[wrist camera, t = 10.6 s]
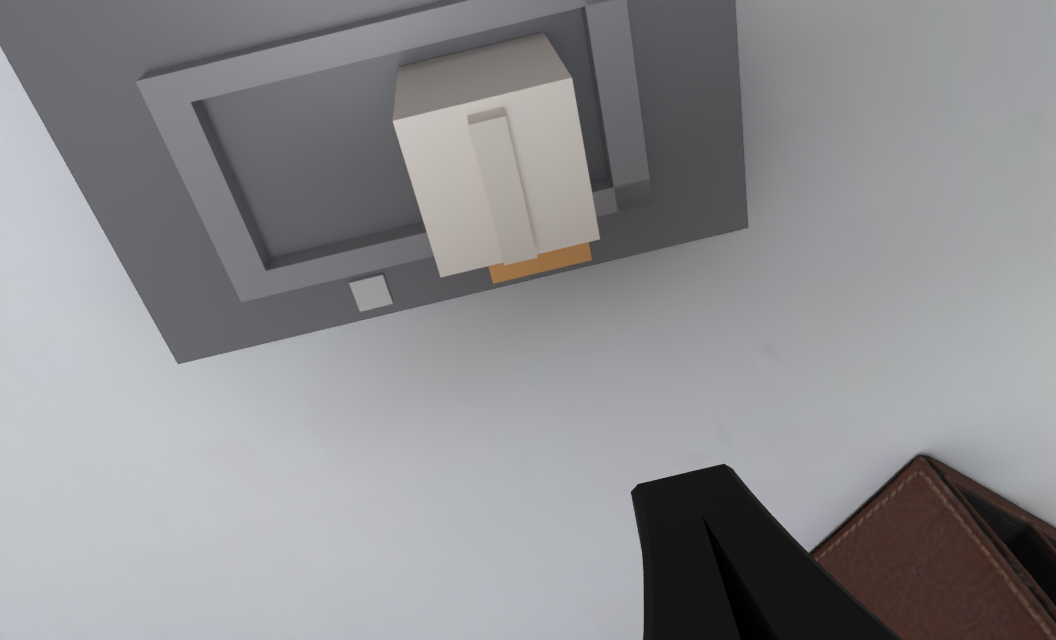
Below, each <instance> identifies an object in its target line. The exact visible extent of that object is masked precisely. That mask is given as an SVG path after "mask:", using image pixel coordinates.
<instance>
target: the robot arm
mask: <svg viewBox="0 0 1056 640" xmlns="http://www.w3.org/2000/svg"><path fill="white" fill-rule="evenodd" d="M631 495H632V501H633V506H634V511H635V517H636V522H637V527H638V533H639V538H640V543H641V549H642V557H643V572H644V635H643V640H903V639H902V638H901V637H899V636H898V635H897V634H896V633H895V632H894V631H892V630H891V629H890V628H889V627H888V626H887V625H886V624H884V623H883V622H882V621H881V620H880V619H879V618H878V617H876V616H875V615H874V614H873V613H872V612H871V611H869V610H868V609H867V608H866V607H865V606H864V605H863V604H862V603H861V602H860V601H858V600H857V599H856V598H855V597H854V596H853V595H852V594H851V593H850V592H849V591H847V590H846V589H845V588H844V587H843V586H842V585H841V584H840V583H839V582H838V581H837V580H836V579H835V578H834V577H833V576H832V575H831V574H830V573H829V572H828V571H827V570H826V569H824V568H823V567H822V566H821V565H820V564H819V563H818V562H817V561H816V560H815V559H814V558H813V557H812V556H811V555H810V554H809V553H808V552H807V551H806V550H805V549H804V548H803V547H802V546H801V545H800V544H799V543H798V542H797V541H796V540H795V539H794V538H793V537H792V536H791V535H790V534H789V533H788V532H787V531H786V529H785V528H784V527H783V526H782V525H781V524H780V523H779V522H778V521H777V520H776V519H775V518H774V517H773V516H772V515H771V513H770V512H769V511H768V510H767V509H766V508H765V507H764V506H763V505H762V503H761V502H760V501H759V500H758V499H757V498H756V497H755V495H754V494H753V493H752V492H751V491H750V490H749V488H748V487H747V486H746V485H745V484H744V483H743V481H742V480H741V479H740V478H739V476H738V475H737V474H736V473H735V471H734V470H733V469H732V468H731V467H729V466H727V465H725V464H721V465H717V466H713V467H709V468H704V469H700V470H696V471H692V472H687V473H683V474H679V475H675V476H670V477H666V478H662V479H658V480H653V481H649V482H645V483H641V484H638V485H637V486H636V487H635V488H634V489H633V490H632V491H631Z"/></svg>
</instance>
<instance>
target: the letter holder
mask: <svg viewBox="0 0 1056 640" xmlns="http://www.w3.org/2000/svg"><path fill="white" fill-rule="evenodd" d="M811 556H812V557H813V558H814V559H815V560H816V561H817V562H818V563H819V564H820V565H821V566H822V567H823V568H824V569H826V570H827V571H828V572H829V573H830V574H831V575H832V576H833V577H834V578H835V579H836V580H837V581H838V582H839V583H840V584H841V585H842V586H843V587H844V588H845V589H846V590H847V591H849V592H850V593H851V594H852V595H853V596H854V597H855V598H856V599H857V600H858V601H860V602H861V603H862V604H863V605H864V606H865V607H866V608H867V609H868V610H869V611H871V612H872V613H873V614H874V615H875V616H876V617H878V618H879V619H880V620H881V621H882V622H883V623H884V624H886V625H887V626H888V627H889V628H890V629H891V630H892V631H894V632H895V633H896V634H897V635H898V636H899V637H901V638H902V639H903V640H1056V529H1055V528H1053V527H1051V526H1050V525H1048V524H1046V523H1045V522H1043V521H1041V520H1039V519H1038V518H1036V517H1034V516H1032V515H1031V514H1029V513H1027V512H1026V511H1024V510H1022V509H1020V508H1018V507H1017V506H1015V505H1013V504H1012V503H1010V502H1008V501H1007V500H1005V499H1003V498H1001V497H1000V496H998V495H996V494H995V493H993V492H991V491H989V490H988V489H986V488H984V487H983V486H981V485H979V484H978V483H976V482H974V481H973V480H971V479H969V478H967V477H965V476H963V475H962V474H960V473H958V472H956V471H954V470H953V469H951V468H949V467H947V466H946V465H944V464H942V463H940V462H938V461H936V460H934V459H932V458H927V457H924V456H919V457H917V458H915V459H914V461H913V462H912V463H911V465H910V466H909V467H908V468H907V469H905V470H904V471H903V472H902V473H901V474H900V475H899V476H898V477H897V478H896V479H895V480H893V481H892V482H891V483H890V484H889V485H888V486H887V487H886V488H885V489H884V490H882V491H881V492H880V493H879V494H878V495H877V496H876V497H875V498H874V499H873V500H871V501H870V502H869V503H868V504H867V505H866V506H865V507H864V508H863V509H861V510H860V511H859V512H858V513H857V514H856V515H855V516H854V517H852V518H851V519H850V520H849V521H848V522H847V523H846V524H845V525H844V526H842V527H841V528H840V529H839V530H838V531H837V532H836V533H835V534H834V535H833V536H831V537H830V538H829V539H828V540H827V541H826V542H825V543H824V544H822V545H821V546H820V547H819V548H818V549H817V550H816V551H815V552H813V553H812V554H811Z"/></svg>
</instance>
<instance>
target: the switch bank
mask: <svg viewBox="0 0 1056 640" xmlns="http://www.w3.org/2000/svg"><path fill="white" fill-rule="evenodd" d="M540 32H544V34H545V35H546V37H547V38H548V40H549V42H550V43H551V45H552V46H553V48H554V50H555V51H556V53H557V54H558V56H559V58H560V59H561V61H562V62H563V64H564V66H565V67H566V69H567V70H568V72H569V74H570V75H571V77H572V81H573V87H574V92H575V98H576V104H577V109H578V115H579V121H580V127H581V132H582V138H583V144H584V150H585V155H586V161H587V167H588V173H589V178H590V184H591V190H592V196H593V201H594V207H595V213H596V219H597V224H598V230H599V236H600V239H599V240H595V241H591V242H587V243H583V244H579V245H574V246H570V247H566V248H562V249H558V250H553V251H549V252H545V253H541V254H537V257H538V258H534V259H530V260H526V261H522V262H517V263H513V264H509V265H505V266H504V262H503V263H499V264H495V265H491V266H487V267H483V268H478V269H474V270H470V271H466V272H462V273H458V274H453V275H449V276H445V277H440V274H439V270H438V267H437V264H436V261H435V257H434V254H433V251H432V248H431V244H430V241H429V238H428V235H427V231H426V228H425V225H424V222H423V218H422V215H421V212H420V209H419V205H418V202H417V199H416V196H415V192H414V189H413V186H412V183H411V179H410V176H409V173H408V170H407V166H406V163H405V160H404V157H403V153H402V150H401V147H400V144H399V140H398V137H397V134H396V131H395V127H394V124H393V111H394V101H395V90H396V80H397V70H398V67H400V66H404V65H409V64H413V63H417V62H421V61H425V60H429V59H433V58H437V57H442V56H446V55H450V54H454V53H458V52H462V51H466V50H470V49H474V48H479V47H483V46H487V45H491V44H495V43H499V42H503V41H507V40H512V39H516V38H520V37H524V36H528V35H532V34H536V33H540ZM0 46H1V48H2V50H3V52H4V53H5V55H6V57H7V59H8V61H9V62H10V64H11V66H12V68H13V70H14V71H15V73H16V75H17V77H18V79H19V80H20V82H21V84H22V86H23V88H24V89H25V91H26V93H27V95H28V96H29V98H30V100H31V102H32V104H33V105H34V107H35V109H36V111H37V113H38V114H39V116H40V118H41V120H42V122H43V123H44V125H45V127H46V129H47V131H48V132H49V134H50V136H51V138H52V139H53V141H54V143H55V145H56V147H57V148H58V150H59V152H60V154H61V156H62V157H63V159H64V161H65V163H66V165H67V166H68V168H69V170H70V172H71V174H72V175H73V177H74V179H75V181H76V182H77V184H78V186H79V188H80V190H81V191H82V193H83V195H84V197H85V199H86V200H87V202H88V204H89V206H90V208H91V209H92V211H93V213H94V215H95V217H96V218H97V220H98V222H99V224H100V225H101V227H102V229H103V231H104V233H105V234H106V236H107V238H108V240H109V242H110V243H111V245H112V247H113V249H114V251H115V252H116V254H117V256H118V258H119V259H120V261H121V263H122V265H123V267H124V268H125V270H126V272H127V274H128V276H129V277H130V279H131V281H132V283H133V285H134V286H135V288H136V290H137V292H138V294H139V295H140V297H141V299H142V301H143V302H144V304H145V306H146V308H147V310H148V311H149V313H150V315H151V317H152V319H153V320H154V322H155V324H156V326H157V328H158V329H159V331H160V333H161V335H162V337H163V338H164V340H165V342H166V344H167V345H168V347H169V349H170V351H171V353H172V354H173V356H174V358H175V360H176V362H177V363H178V364H181V363H185V362H189V361H193V360H198V359H202V358H206V357H210V356H214V355H218V354H223V353H227V352H231V351H235V350H239V349H243V348H248V347H252V346H256V345H260V344H264V343H269V342H273V341H277V340H281V339H285V338H289V337H294V336H298V335H302V334H306V333H310V332H314V331H319V330H323V329H327V328H331V327H335V326H340V325H344V324H348V323H352V322H356V321H360V320H365V319H369V318H373V317H377V316H381V315H385V314H390V313H394V312H398V311H402V310H406V309H411V308H415V307H419V306H423V305H427V304H431V303H436V302H440V301H444V300H448V299H452V298H457V297H461V296H465V295H469V294H473V293H477V292H482V291H486V290H490V289H494V288H498V287H502V286H507V285H511V284H515V283H519V282H523V281H528V280H532V279H536V278H540V277H544V276H548V275H553V274H557V273H561V272H565V271H569V270H573V269H578V268H582V267H586V266H590V265H594V264H599V263H603V262H607V261H611V260H615V259H619V258H624V257H628V256H632V255H636V254H640V253H645V252H649V251H653V250H657V249H661V248H665V247H670V246H674V245H678V244H682V243H686V242H690V241H695V240H699V239H703V238H707V237H711V236H716V235H720V234H724V233H728V232H732V231H736V230H741V229H745V228H748V217H747V199H746V182H745V165H744V147H743V130H742V113H741V96H740V78H739V61H738V44H737V26H736V9H735V0H0Z"/></svg>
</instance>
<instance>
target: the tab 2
mask: <svg viewBox="0 0 1056 640" xmlns="http://www.w3.org/2000/svg"><path fill="white" fill-rule="evenodd" d="M393 124H394V127H395V131H396V134H397V137H398V140H399V144H400V147H401V150H402V153H403V157H404V160H405V163H406V166H407V170H408V173H409V176H410V179H411V183H412V186H413V189H414V192H415V196H416V199H417V202H418V205H419V209H420V212H421V215H422V218H423V222H424V225H425V228H426V231H427V235H428V238H429V241H430V244H431V248H432V251H433V254H434V257H435V261H436V264H437V267H438V270H439V274H440V277H445V276H449V275H453V274H458V273H462V272H466V271H470V270H474V269H478V268H483V267H487V266H491V265H495V264H499V263H503V262H504V266H505V265H509V264H513V263H517V262H522V261H526V260H530V259H534V258H538V257H537V254H541V253H545V252H549V251H553V250H558V249H562V248H566V247H570V246H574V245H579V244H583V243H587V242H591V241H595V240H599V239H600V236H599V230H598V224H597V219H596V213H595V207H594V201H593V196H592V190H591V184H590V178H589V173H588V167H587V161H586V155H585V150H584V144H583V138H582V132H581V127H580V121H579V115H578V109H577V104H576V98H575V92H574V87H573V81H572V77H571V75H570V74H569V72H568V70H567V69H566V67H565V66H564V64H563V62H562V61H561V59H560V58H559V56H558V54H557V53H556V51H555V50H554V48H553V46H552V45H551V43H550V42H549V40H548V38H547V37H546V35H545V34H544V32H540V33H536V34H532V35H528V36H524V37H520V38H516V39H512V40H507V41H503V42H499V43H495V44H491V45H487V46H483V47H479V48H474V49H470V50H466V51H462V52H458V53H454V54H450V55H446V56H442V57H437V58H433V59H429V60H425V61H421V62H417V63H413V64H409V65H404V66H400V67H398V70H397V80H396V90H395V101H394V111H393Z"/></svg>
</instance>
